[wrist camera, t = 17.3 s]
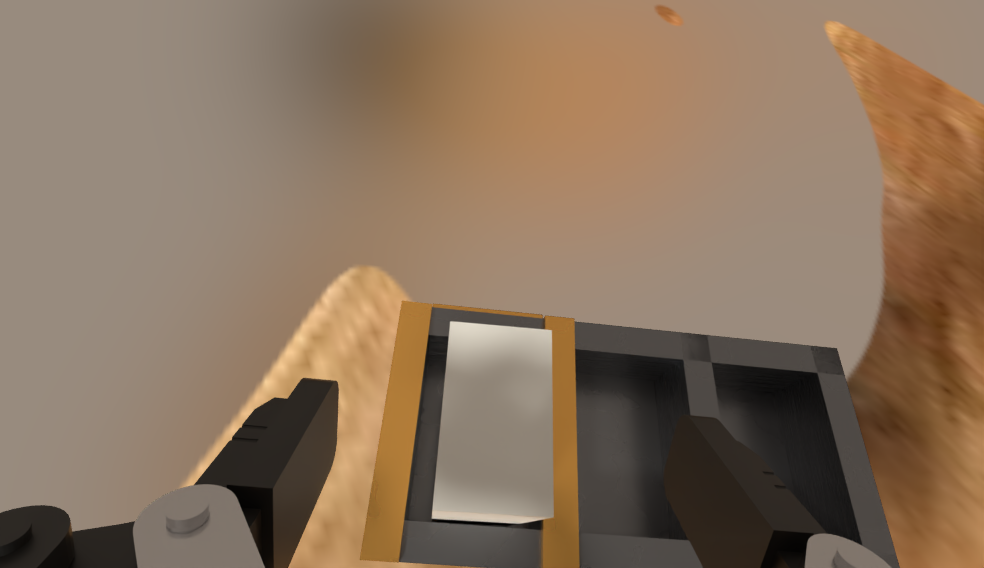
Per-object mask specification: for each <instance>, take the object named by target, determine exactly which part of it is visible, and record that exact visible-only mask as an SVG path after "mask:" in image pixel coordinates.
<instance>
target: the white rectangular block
mask: <svg viewBox="0 0 984 568" xmlns="http://www.w3.org/2000/svg"><path fill="white" fill-rule="evenodd" d="M553 517H554V494H553V399H552V330H544V329H532V328H521V327H510V326H498V325H487V324H476V323H464V322H453V321H450V330H449V340H448V351H447V361H446V372H445V382H444V393H443V403H442V414H441V424H440V435H439V445H438V456H437V466H436V477H435V487H434V498H433V508H432V521H431V522H448V523H465V524H483V525H500V526H511V525H516V524H521V523H526V522H532V521H537V520H542V519H548V518H553Z"/></svg>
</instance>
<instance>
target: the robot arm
mask: <svg viewBox="0 0 984 568" xmlns="http://www.w3.org/2000/svg"><path fill="white" fill-rule="evenodd" d="M338 394H339V388H338V382H337V381H332V380H321V379H311V378H303V379H301V381H300V382H299V383H298V385H297V386H296V388H295V389H294V390H293V392H292V393H291V395H290V396H289V397H288V399H284V398H273V399H271V400H270V401H268V402H266V403H265V404H263V405H261V406H260V407H258V408H256V409H255V410H254V411H253V412H252V413H251V415H250V416H249V417H248V418H247V420H246V421H245V422H244V423H243V425H242V428H239V430H238V431H237V432H236V433H235V435H234V436H233V437H232V441H229V442H228V443H227V445H226V446H225V447H224V448H223V450H222V451H221V452H220V453H219V455H218V456H217V457H216V458H215V460H214V461H213V462H212V463H211V465H210V466H209V467H208V468H207V469H206V471H205V472H204V473H203V474H202V476H201V477H200V478H199V479H198V481H197V482H196V483H195V484H194V485H193V486H188V487H184V488H180V489H177V490H175V491H172V492H170V493H167V494H165V495H163V496H162V497H160V498H158V499H156V500H155V501H153V502H152V503H151V504H149V505H148V506H147V507H146V508H145V509H144V510H143V511H142V512H141V513H140V515H139V516H138V518H137V519H136V521H134V522H129V523H124V524H119V525H112V526H106V527H99V528H93V529H87V530H80V531H75V532H72V528H71V522H70V518H69V515H68V514H67V513H66V512H65V511H64V510H62V509H60V508H57V507H53V506H45V505H43V506H42V505H41V506H28V507H21V508H16V509H12V510H9V511H5V512H2V513H0V568H288V567H289V564H290V562H291V560H292V557H293V555H294V553H295V550H296V548H297V546H298V544H299V541H300V539H301V537H302V534H303V532H304V530H305V527H306V525H307V523H308V520H309V518H310V516H311V514H312V511H313V509H314V507H315V504H316V502H317V500H318V497H319V495H320V493H321V491H322V488H323V486H324V484H325V481H326V479H327V477H328V474H329V472H330V470H331V467H332V464H333V460H334V456H335V451H336V444H337V422H338ZM664 489H665V493H666V496H667V499H668V501H669V503H670V505H671V507H672V509H673V510H674V512H675V514H676V516H677V518H678V520H679V522H680V524H681V526H682V528H683V530H684V532H685V534H686V535H687V537H688V539H689V541H690V543H691V545H692V547H693V549H694V551H695V553H696V555H697V557H698V559H699V560H700V562H701V564H702V566H703V568H892V567H891V566H889V565H888V564H887V563H886V562H885V561H884V560H883V559H881V558H880V557H879V556H877V555H876V554H875V553H873V552H872V551H870V550H868V549H867V548H865V547H863V546H862V545H860V544H858V543H856V542H854V541H851V540H849V539H846V538H843V537H840V536H837V535H832V534H827V533H826V531H825V530H824V529H823V528H822V527H821V526H820V525H819V523H818V522H817V521H816V520H815V519H814V518H813V517H812V515H811V514H810V513H809V512H808V511H807V510H806V508H805V507H804V506H803V505H802V504H801V503H800V502H799V500H798V499H797V498H796V497H795V496H794V495H793V494H792V492H791V491H790V490H787V489H786V486H785V484H784V483H783V482H782V481H781V480H780V479H779V478H778V476H775V475H774V472H773V471H772V470H771V468H770V467H769V466H768V465H767V464H766V463H765V462H764V460H763V459H762V458H761V457H760V456H759V455H758V454H756V453H755V452H753V451H752V450H751V449H749V448H748V447H746V446H745V445H744V444H742V443H741V442H739V441H736V440H735V439H734V437H733V436H732V435H731V434H730V433H729V431H728V430H727V429H726V428H725V427H724V425H723V424H722V423H721V422H720V421H719V420H718V419H717V418H714V417H704V416H693V415H682V416H681V417H680V418H679V419H678V422H677V425H676V428H675V432H674V436H673V439H672V443H671V447H670V451H669V454H668V458H667V462H666V465H665V470H664Z"/></svg>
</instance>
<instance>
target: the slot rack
mask: <svg viewBox="0 0 984 568" xmlns="http://www.w3.org/2000/svg"><path fill="white" fill-rule="evenodd" d="M450 321H453V322H464V323H476V324H487V325H498V326H510V327H521V328H532V329H544V330H552V399H553V494H554V517H553V518H548V519H542V520H537V521H532V522H526V523H521V524H516V525H511V526H500V525H483V524H465V523H448V522H431V521H432V508H433V498H434V487H435V477H436V466H437V456H438V445H439V435H440V424H441V414H442V403H443V393H444V382H445V372H446V361H447V351H448V340H449V330H450ZM682 415H693V416H704V417H714V418H717V419H718V420H719V421H720V422H721V423H722V424H723V425H724V427H725V428H726V429H727V430H728V431H729V433H730V434H731V435H732V436H733V437H734V439H735V440H736V441H739V442H741V443H742V444H744V445H745V446H746V447H748V448H749V449H751V450H752V451H753V452H755V453H756V454H758V455H759V456H760V457H761V458H762V459H763V460H764V462H765V463H766V464H767V465H768V466H769V467H770V468H771V470H772V471H773V472H774V475H775V476H778V478H779V479H780V480H781V481H782V482H783V483H784V484H785V486H786V489H787V490H790V491H791V492H792V494H793V495H794V496H795V497H796V498H797V499H798V500H799V502H800V503H801V504H802V505H803V506H804V507H805V508H806V510H807V511H808V512H809V513H810V514H811V515H812V517H813V518H814V519H815V520H816V521H817V522H818V523H819V525H820V526H821V527H822V528H823V529H824V530H825V531H826V533H827V534H832V535H837V536H840V537H843V538H846V539H849V540H851V541H854V542H856V543H858V544H860V545H862V546H863V547H865V548H867V549H868V550H870V551H872V552H873V553H875V554H876V555H877V556H879V557H880V558H881V559H883V560H884V561H885V562H886V563H887V564H888V565H889V566H891V567H892V568H900V567H899V563H898V560H897V556H896V553H895V549H894V546H893V542H892V539H891V535H890V532H889V528H888V525H887V521H886V518H885V514H884V511H883V507H882V504H881V500H880V497H879V493H878V490H877V486H876V483H875V480H874V476H873V473H872V469H871V466H870V462H869V459H868V455H867V452H866V448H865V445H864V441H863V438H862V434H861V431H860V427H859V424H858V420H857V417H856V413H855V410H854V406H853V403H852V399H851V396H850V392H849V389H848V385H847V382H846V379H845V375H844V372H843V368H842V365H841V361H840V358H839V354H838V351H837V348H827V347H818V346H808V345H799V344H789V343H779V342H769V341H759V340H750V339H739V338H729V337H719V336H710V335H700V334H691V333H681V332H671V331H661V330H651V329H642V328H632V327H622V326H612V325H602V324H593V323H582V322H574V319H573V318H564V317H554V316H545V317H544V318H543V316H542V315H539V314H529V313H519V312H510V311H500V310H490V309H480V308H471V307H461V306H451V305H442V304H433V307H432V304H427V303H418V302H408V301H402V304H401V310H400V316H399V323H398V329H397V335H396V341H395V347H394V353H393V359H392V365H391V371H390V378H389V384H388V390H387V396H386V402H385V408H384V414H383V420H382V427H381V433H380V439H379V445H378V451H377V457H376V463H375V469H374V476H373V482H372V488H371V494H370V500H369V506H368V512H367V518H366V524H365V531H364V537H363V543H362V549H361V555H360V560H369V561H385V562H406V563H422V564H437V565H452V566H468V567H483V568H703V566H702V564H701V562H700V560H699V559H698V557H697V555H696V553H695V551H694V549H693V547H692V545H691V543H690V541H689V539H688V537H687V535H686V534H685V532H684V530H683V528H682V526H681V524H680V522H679V520H678V518H677V516H676V514H675V512H674V510H673V509H672V507H671V505H670V503H669V501H668V499H667V496H666V493H665V489H664V470H665V465H666V462H667V458H668V454H669V451H670V447H671V443H672V439H673V436H674V432H675V428H676V425H677V422H678V419H679V418H680V417H681V416H682Z"/></svg>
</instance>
